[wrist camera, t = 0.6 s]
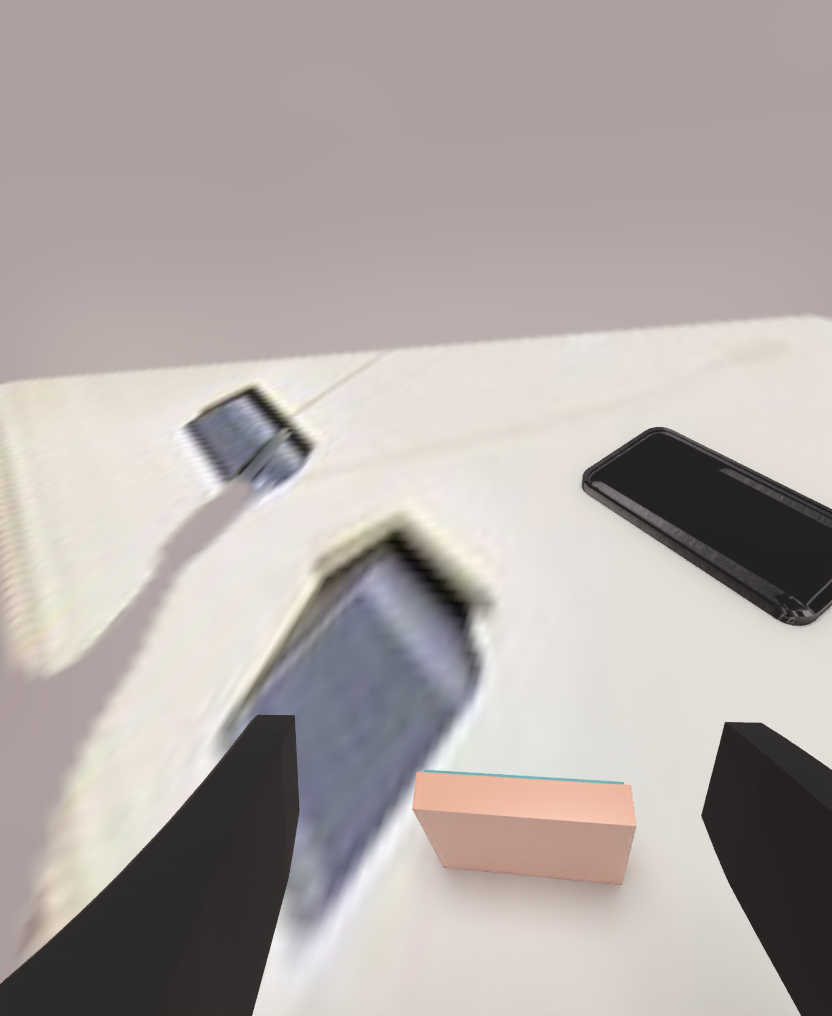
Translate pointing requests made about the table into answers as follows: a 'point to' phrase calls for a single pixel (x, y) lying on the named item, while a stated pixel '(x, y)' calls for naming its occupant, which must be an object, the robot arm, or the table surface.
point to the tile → (527, 824)
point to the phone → (723, 520)
